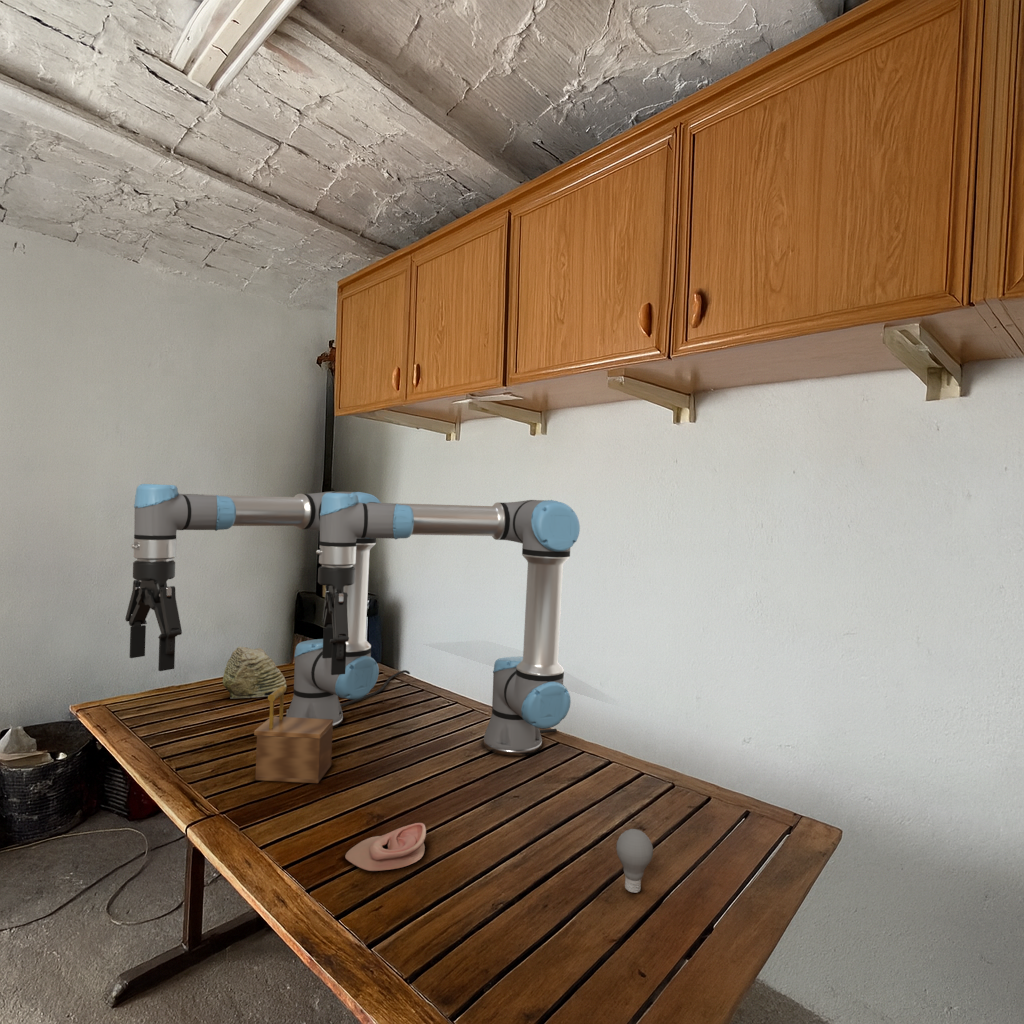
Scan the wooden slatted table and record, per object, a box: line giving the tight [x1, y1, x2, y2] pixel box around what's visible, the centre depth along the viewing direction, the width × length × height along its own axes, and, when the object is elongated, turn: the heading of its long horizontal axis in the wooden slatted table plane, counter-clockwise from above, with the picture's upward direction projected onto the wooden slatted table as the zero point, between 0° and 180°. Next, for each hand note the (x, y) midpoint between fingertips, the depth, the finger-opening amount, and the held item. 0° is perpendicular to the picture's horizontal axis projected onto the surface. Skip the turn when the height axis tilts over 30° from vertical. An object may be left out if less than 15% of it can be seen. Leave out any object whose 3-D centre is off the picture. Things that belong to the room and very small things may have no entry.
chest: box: [255, 724, 334, 784], centre depth 145 cm, size 14×9×10 cm
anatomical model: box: [344, 822, 427, 872], centre depth 113 cm, size 13×4×12 cm
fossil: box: [222, 646, 288, 699], centre depth 198 cm, size 9×18×15 cm, turn 132°
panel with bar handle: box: [253, 686, 333, 739], centre depth 144 cm, size 15×9×9 cm, turn 89°
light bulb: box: [615, 828, 654, 894], centre depth 106 cm, size 6×6×10 cm
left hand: (151, 663), depth 130 cm, fingers open, 13 cm apart
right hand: (333, 665), depth 134 cm, fingers open, 13 cm apart
